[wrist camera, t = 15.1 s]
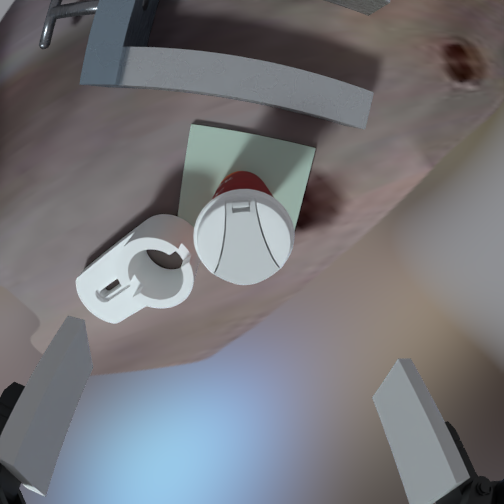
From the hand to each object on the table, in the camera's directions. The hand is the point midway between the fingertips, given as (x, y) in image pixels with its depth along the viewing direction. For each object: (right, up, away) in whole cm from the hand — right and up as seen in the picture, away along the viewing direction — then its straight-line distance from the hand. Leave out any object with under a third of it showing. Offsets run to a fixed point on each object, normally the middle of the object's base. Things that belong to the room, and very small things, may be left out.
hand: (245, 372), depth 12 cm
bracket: (-15, +3, +27) cm, 31 cm away
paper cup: (-1, +11, +24) cm, 26 cm away
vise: (-5, +31, +15) cm, 34 cm away
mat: (-1, +12, +24) cm, 27 cm away
